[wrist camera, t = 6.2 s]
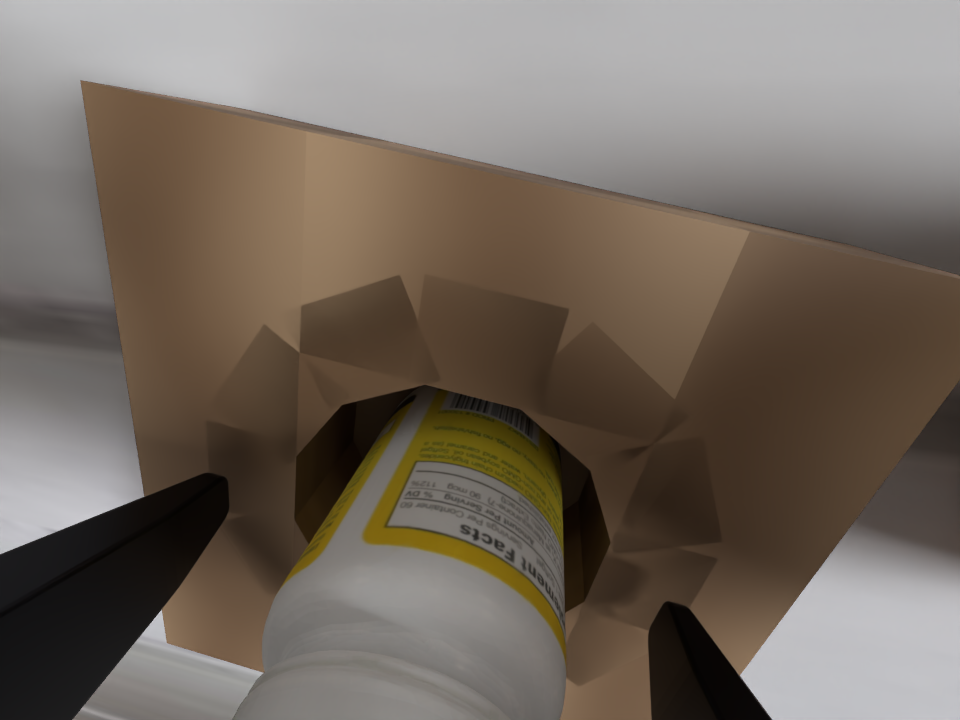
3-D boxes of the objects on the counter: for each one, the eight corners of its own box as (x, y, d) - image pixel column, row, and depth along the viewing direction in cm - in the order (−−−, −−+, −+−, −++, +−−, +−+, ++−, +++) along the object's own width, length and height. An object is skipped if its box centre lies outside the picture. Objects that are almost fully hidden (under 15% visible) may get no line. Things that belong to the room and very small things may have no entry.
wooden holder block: (850, 245, 10) (1024, 293, 6) (630, 645, 16) (652, 791, 12) (243, 108, 11) (80, 79, 7) (253, 537, 16) (167, 642, 13)
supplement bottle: (433, 527, 14) (279, 977, 6) (361, 398, 12) (44, 779, 5) (586, 495, 12) (629, 1022, 5) (526, 345, 11) (454, 764, 3)
